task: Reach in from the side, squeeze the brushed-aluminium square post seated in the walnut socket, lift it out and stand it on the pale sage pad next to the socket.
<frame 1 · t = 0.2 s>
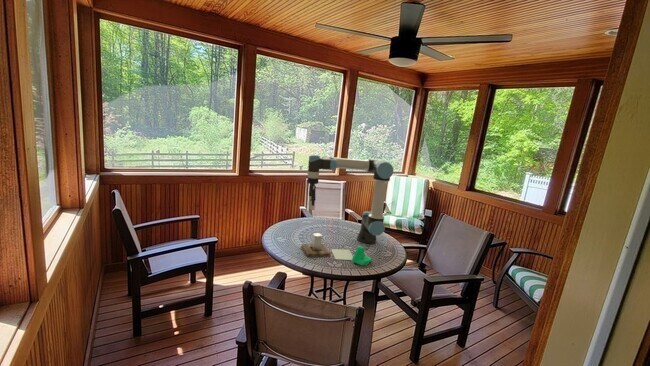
hand: (311, 207, 212), 27 cm above the table, tool pointing down, fingers open, 13 cm apart
walnut socket: (315, 251, 205), on the table
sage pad: (342, 254, 205), on the table
aluminium post: (316, 243, 204), in the walnut socket
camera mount: (361, 262, 197), on the table
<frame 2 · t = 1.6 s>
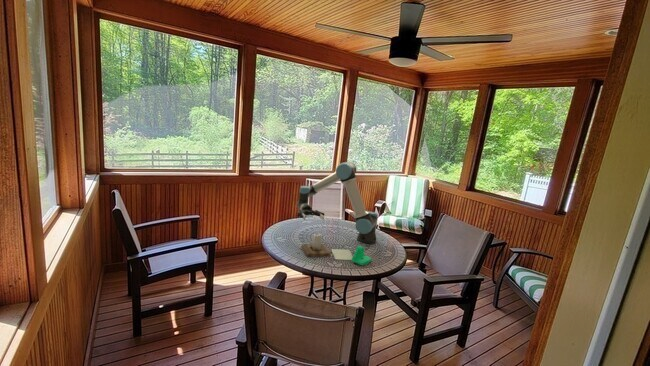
hand: (314, 218, 212), 20 cm above the table, tool horizontal, fingers open, 13 cm apart
nothing on the table moved.
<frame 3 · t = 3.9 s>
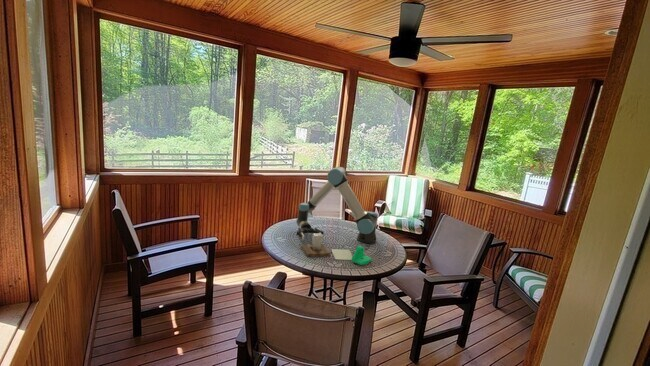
hand: (313, 237, 209), 7 cm above the table, tool horizontal, fingers open, 13 cm apart
nothing on the table moved.
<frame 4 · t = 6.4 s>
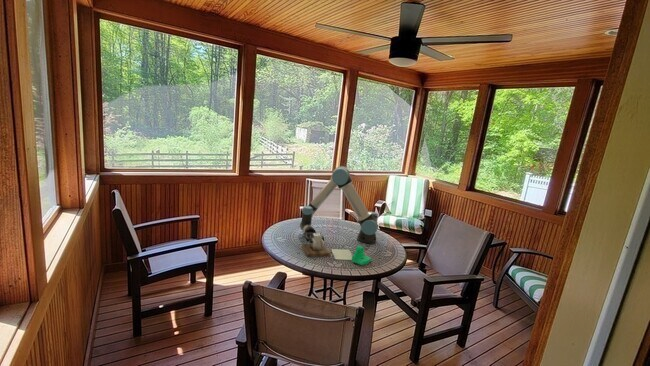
hand: (319, 244, 199), 8 cm above the table, tool horizontal, fingers closed on aluminium post, 5 cm apart
aluminium post: (316, 243, 204), in the walnut socket, touching gripper
everything else where it was.
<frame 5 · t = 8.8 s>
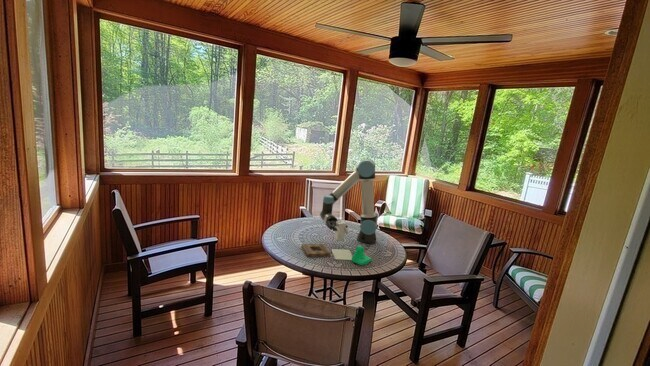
hand: (343, 231, 197), 18 cm above the table, tool horizontal, fingers closed on aluminium post, 5 cm apart
aluminium post: (340, 231, 202), point 16 cm above the table, touching gripper
everything else where it was.
when the fingers open (9 cm above the table, at t = 11.1 s): aluminium post stays where it is, resting on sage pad.
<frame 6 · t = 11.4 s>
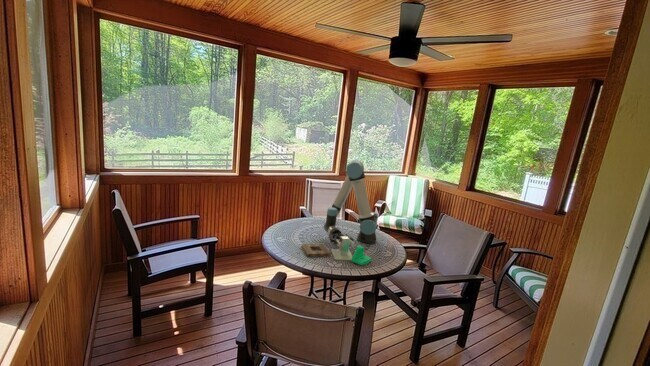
hand: (346, 245, 199), 9 cm above the table, tool horizontal, fingers open, 9 cm apart
aluminium post: (343, 245, 204), on the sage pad
everything else where it was.
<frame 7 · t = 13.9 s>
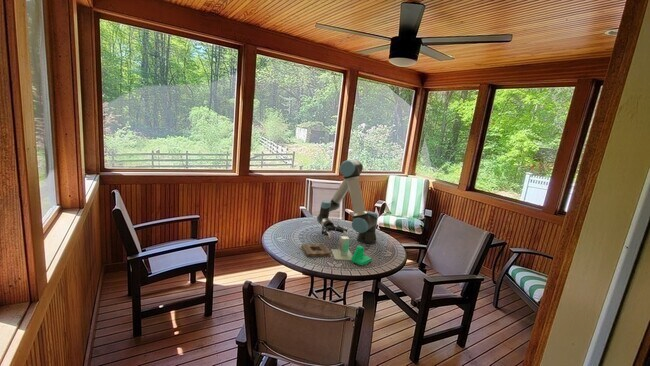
hand: (339, 236, 214), 9 cm above the table, tool horizontal, fingers open, 13 cm apart
nothing on the table moved.
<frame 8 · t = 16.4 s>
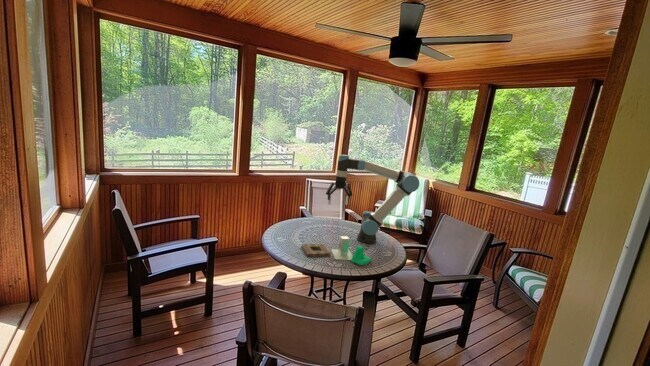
hand: (337, 204, 222), 29 cm above the table, tool pointing down, fingers open, 13 cm apart
nothing on the table moved.
at the end: aluminium post inside the target area on the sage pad (0.0 cm from its centre), point 6.5 cm above the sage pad's base; aluminium post tilted 0°; the gripper is holding nothing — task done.
